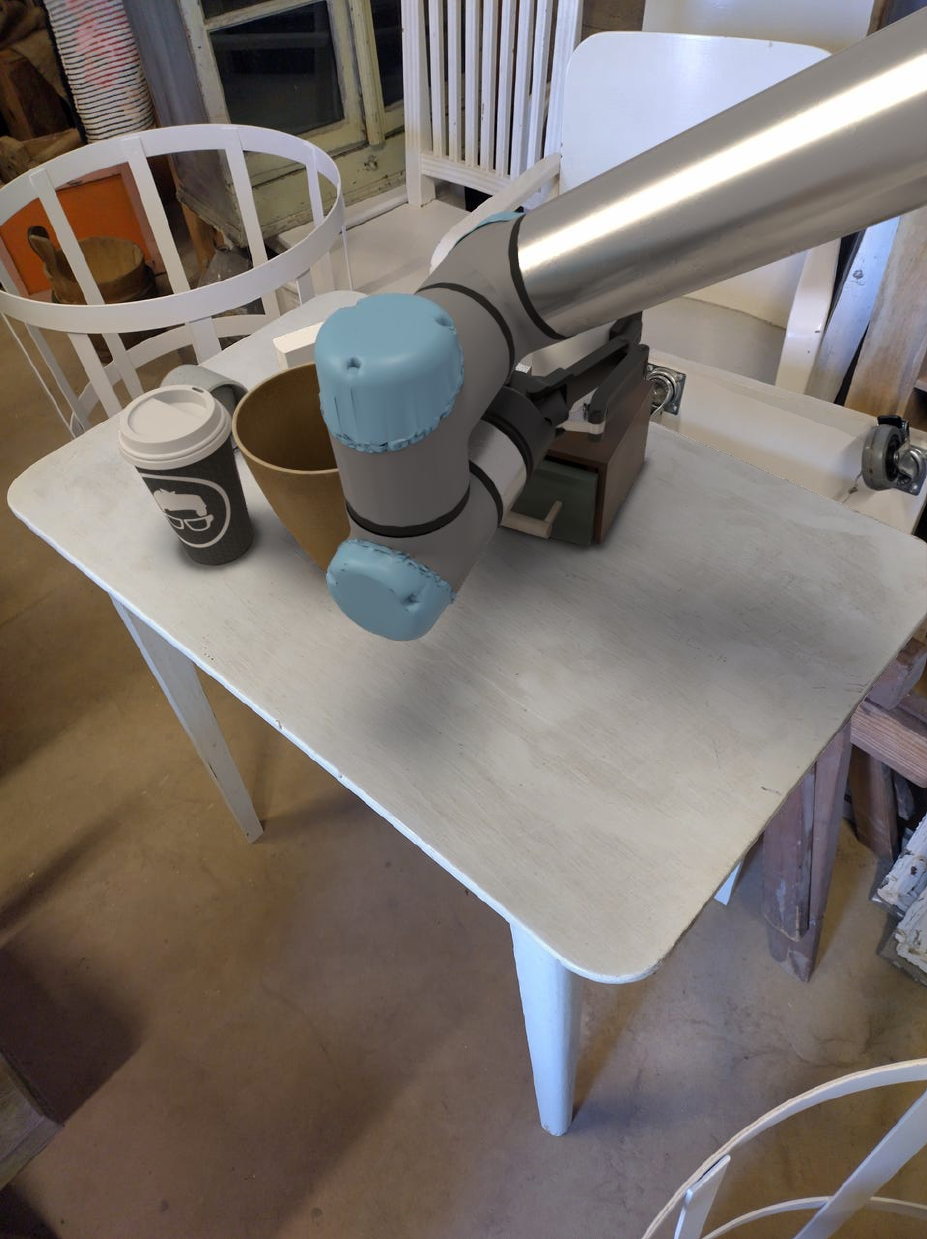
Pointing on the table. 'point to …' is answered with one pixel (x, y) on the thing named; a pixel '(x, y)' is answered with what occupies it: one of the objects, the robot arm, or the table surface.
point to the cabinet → (612, 454)
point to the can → (570, 354)
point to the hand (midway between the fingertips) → (595, 297)
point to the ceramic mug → (209, 386)
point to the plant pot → (294, 459)
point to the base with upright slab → (296, 347)
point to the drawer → (557, 502)
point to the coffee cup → (189, 468)
